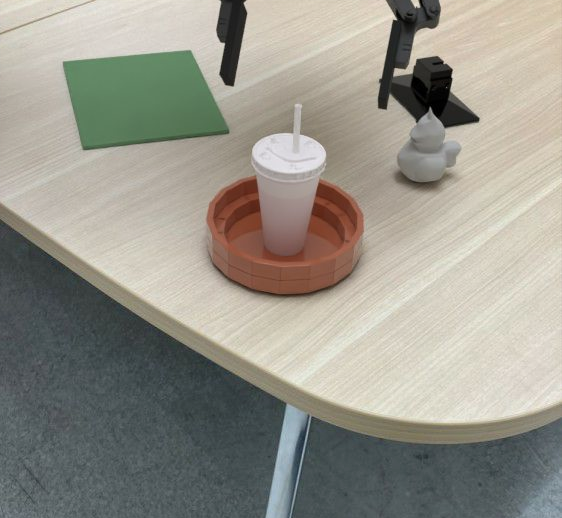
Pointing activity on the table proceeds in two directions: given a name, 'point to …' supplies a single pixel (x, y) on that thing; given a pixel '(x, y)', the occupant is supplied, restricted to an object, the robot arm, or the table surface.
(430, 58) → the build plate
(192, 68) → the cloth
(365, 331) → the table surface
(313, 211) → the bowl
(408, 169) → the rubber duck
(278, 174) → the smoothie
